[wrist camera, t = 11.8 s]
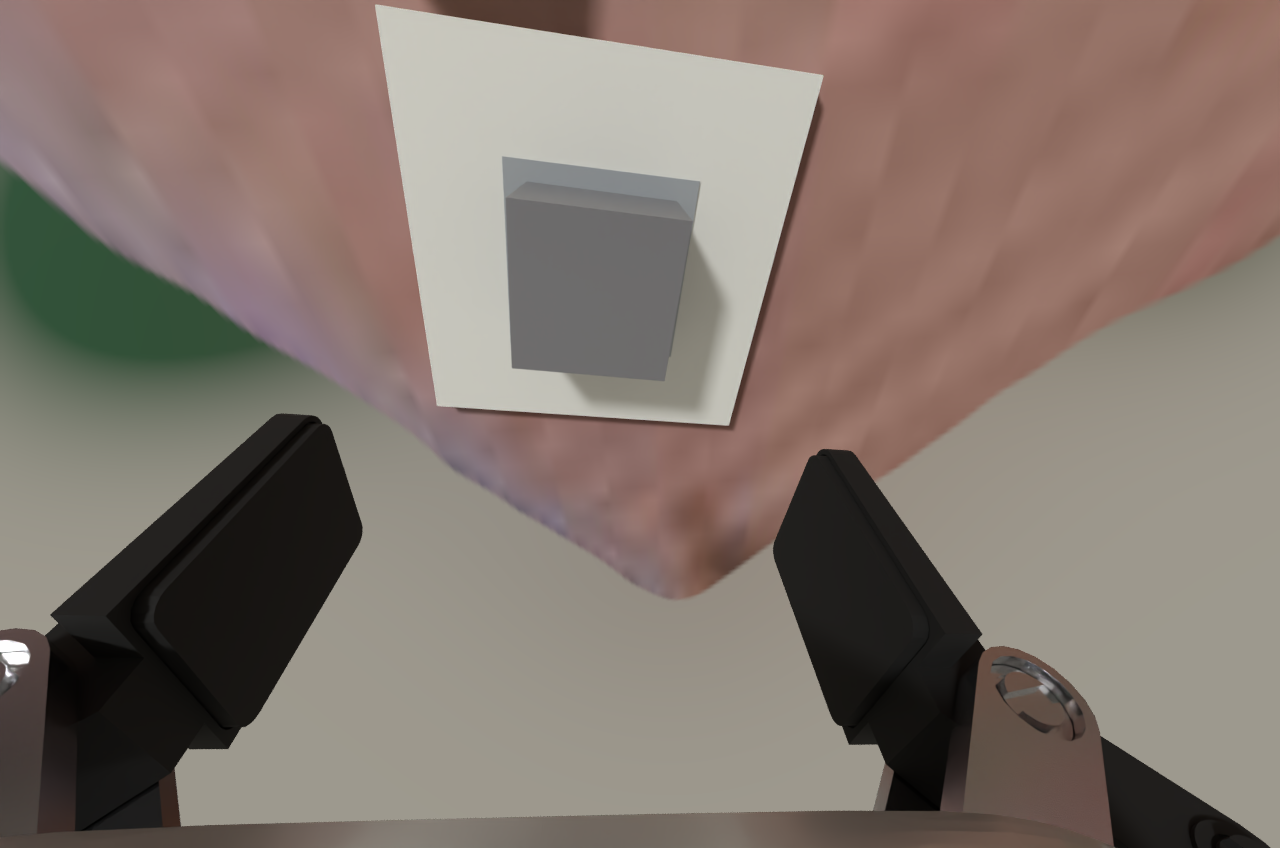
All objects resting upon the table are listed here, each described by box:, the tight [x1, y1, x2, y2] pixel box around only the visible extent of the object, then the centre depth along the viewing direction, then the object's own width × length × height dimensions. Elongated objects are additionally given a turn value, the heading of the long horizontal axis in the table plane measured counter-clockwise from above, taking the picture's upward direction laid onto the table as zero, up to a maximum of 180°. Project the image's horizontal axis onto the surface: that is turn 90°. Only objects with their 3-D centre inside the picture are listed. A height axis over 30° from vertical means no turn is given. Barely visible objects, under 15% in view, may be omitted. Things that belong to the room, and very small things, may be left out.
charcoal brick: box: [506, 182, 693, 381], centre depth 21 cm, size 7×7×5 cm
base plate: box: [375, 4, 824, 426], centre depth 24 cm, size 18×18×1 cm
